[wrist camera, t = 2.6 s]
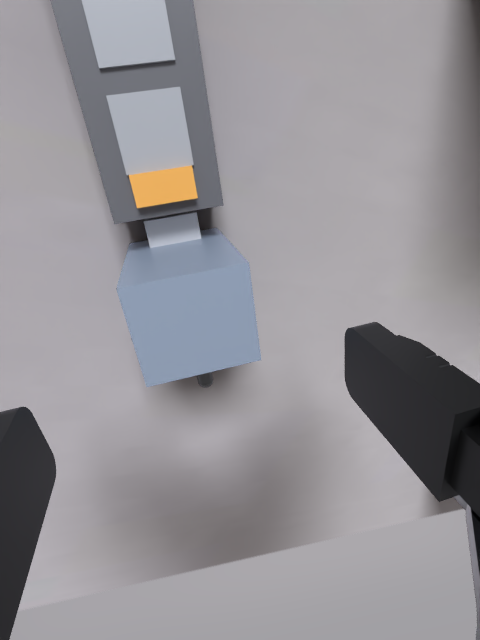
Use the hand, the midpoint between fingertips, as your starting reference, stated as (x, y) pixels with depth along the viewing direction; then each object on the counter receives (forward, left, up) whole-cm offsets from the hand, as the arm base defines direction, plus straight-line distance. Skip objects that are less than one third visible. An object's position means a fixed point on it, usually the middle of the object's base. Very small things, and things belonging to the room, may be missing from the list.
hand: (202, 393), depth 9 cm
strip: (0, -9, -11) cm, 15 cm away
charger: (0, +2, -11) cm, 11 cm away
